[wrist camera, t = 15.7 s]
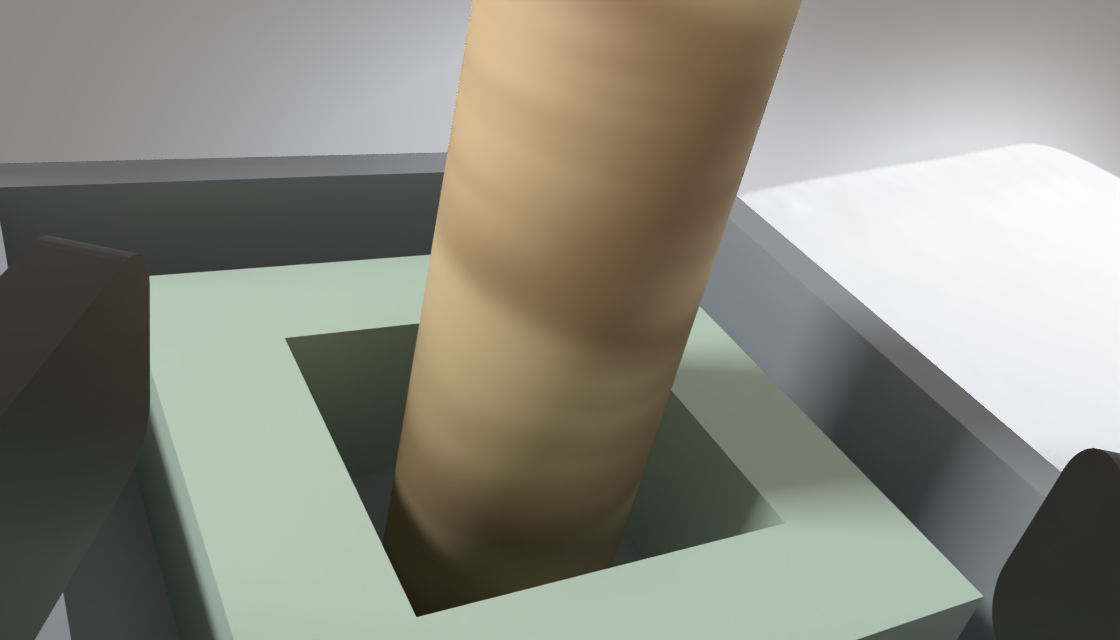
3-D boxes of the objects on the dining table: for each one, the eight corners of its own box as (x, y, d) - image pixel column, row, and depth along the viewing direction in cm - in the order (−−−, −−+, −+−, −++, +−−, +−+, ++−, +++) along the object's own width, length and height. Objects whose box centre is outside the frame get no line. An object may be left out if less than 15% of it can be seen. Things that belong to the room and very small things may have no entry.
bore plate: (598, 366, 29) (634, 239, 26) (895, 737, 20) (983, 596, 18) (125, 433, 23) (122, 278, 21) (272, 994, 14) (292, 831, 12)
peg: (538, 486, 24) (750, -312, 15) (637, 638, 21) (971, -255, 12) (347, 524, 22) (472, -381, 13) (427, 700, 19) (658, -332, 10)
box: (627, 322, 33) (678, 146, 29) (1092, 854, 20) (1270, 650, 17) (-38, 402, 24) (-68, 165, 21) (62, 1431, 11) (27, 1235, 8)
